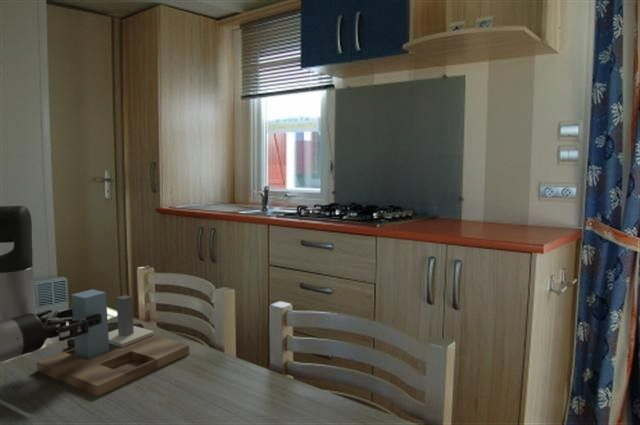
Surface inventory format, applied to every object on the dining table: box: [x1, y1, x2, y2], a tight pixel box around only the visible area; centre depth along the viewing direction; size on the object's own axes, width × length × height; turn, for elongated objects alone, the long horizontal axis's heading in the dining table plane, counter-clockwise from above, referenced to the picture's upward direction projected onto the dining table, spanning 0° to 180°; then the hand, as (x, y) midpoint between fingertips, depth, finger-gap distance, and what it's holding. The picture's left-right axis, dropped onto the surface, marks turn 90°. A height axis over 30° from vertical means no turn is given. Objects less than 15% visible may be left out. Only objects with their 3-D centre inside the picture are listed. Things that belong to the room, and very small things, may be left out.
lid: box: [108, 294, 155, 347], centre depth 115 cm, size 9×9×10 cm
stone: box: [66, 321, 145, 350], centre depth 122 cm, size 18×11×3 cm, turn 139°
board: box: [36, 334, 190, 397], centre depth 107 cm, size 21×23×2 cm
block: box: [71, 288, 109, 360], centre depth 108 cm, size 5×5×15 cm
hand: (88, 314), depth 107 cm, fingers open, 8 cm apart
